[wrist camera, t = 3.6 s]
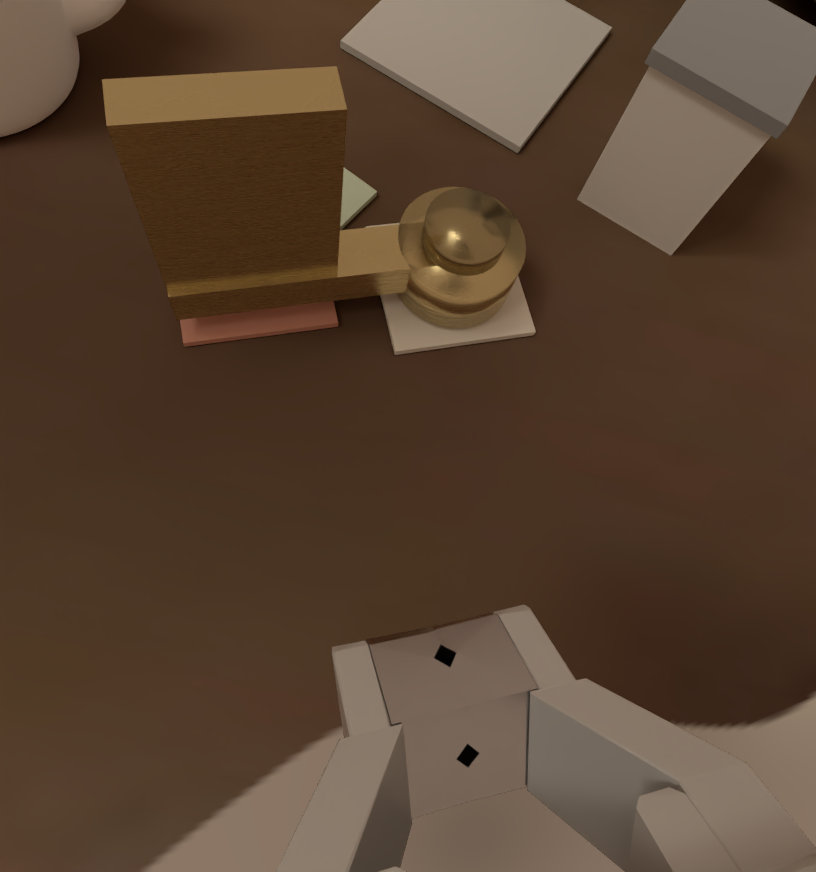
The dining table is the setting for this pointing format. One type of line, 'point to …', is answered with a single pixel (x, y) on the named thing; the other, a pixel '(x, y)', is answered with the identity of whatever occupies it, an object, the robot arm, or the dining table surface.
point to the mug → (42, 55)
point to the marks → (401, 322)
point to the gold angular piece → (291, 203)
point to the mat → (481, 56)
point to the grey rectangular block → (701, 115)
